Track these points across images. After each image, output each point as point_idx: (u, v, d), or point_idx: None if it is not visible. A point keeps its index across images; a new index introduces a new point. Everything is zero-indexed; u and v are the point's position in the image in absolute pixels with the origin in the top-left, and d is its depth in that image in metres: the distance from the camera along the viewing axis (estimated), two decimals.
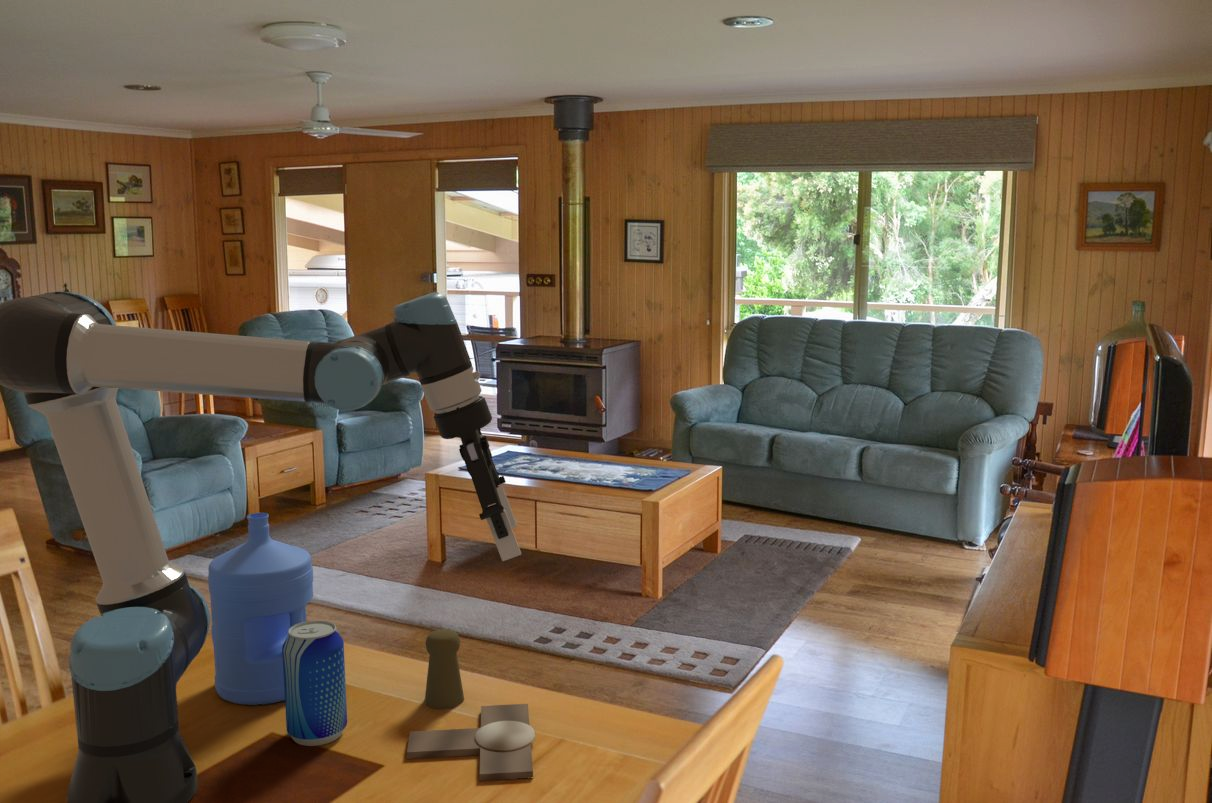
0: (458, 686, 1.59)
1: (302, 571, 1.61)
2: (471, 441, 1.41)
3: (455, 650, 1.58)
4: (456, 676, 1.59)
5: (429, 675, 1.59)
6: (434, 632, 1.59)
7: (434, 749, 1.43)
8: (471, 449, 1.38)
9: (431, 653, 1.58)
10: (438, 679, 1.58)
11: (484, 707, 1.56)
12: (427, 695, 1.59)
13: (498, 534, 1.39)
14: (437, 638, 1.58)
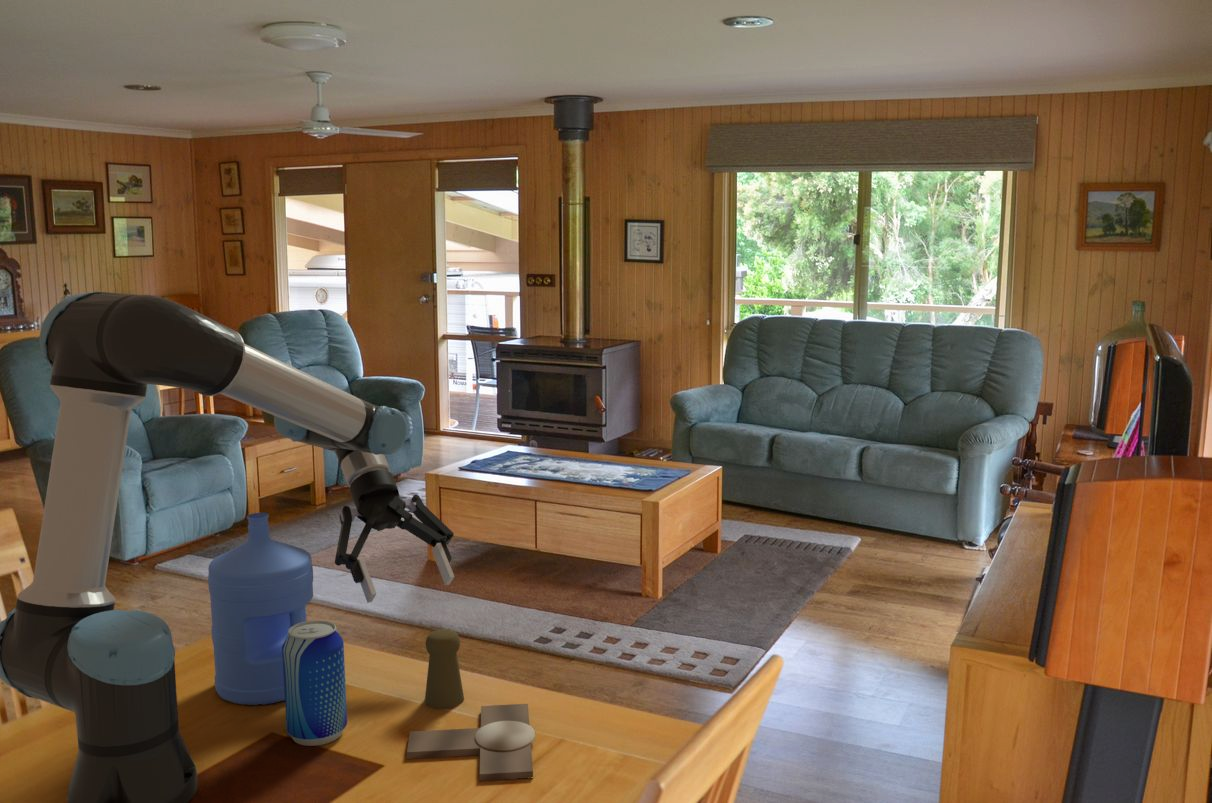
0: (458, 686, 1.59)
1: (302, 571, 1.61)
2: None
3: (455, 650, 1.58)
4: (456, 676, 1.59)
5: (429, 675, 1.59)
6: (434, 632, 1.59)
7: (434, 749, 1.43)
8: None
9: (431, 653, 1.58)
10: (438, 679, 1.58)
11: (484, 707, 1.56)
12: (427, 695, 1.59)
13: (450, 556, 1.73)
14: (437, 638, 1.58)
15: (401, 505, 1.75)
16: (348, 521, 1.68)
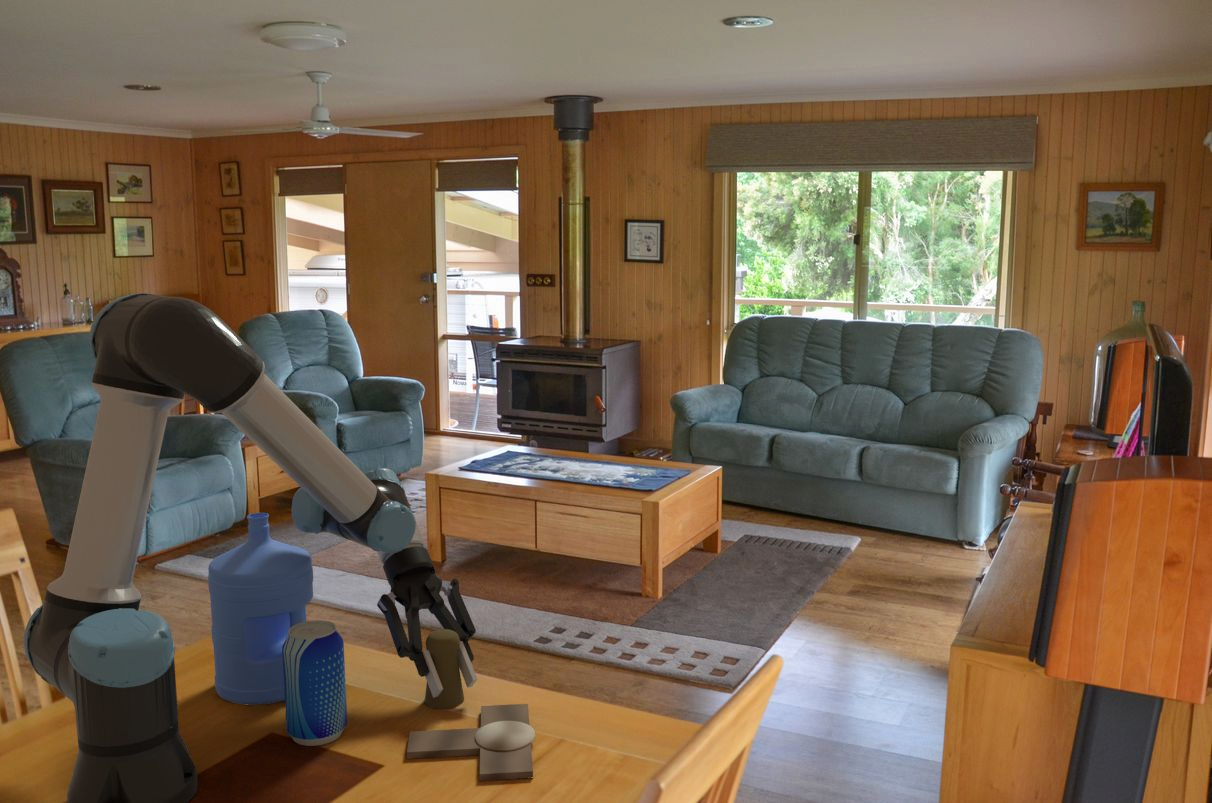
0: (458, 686, 1.59)
1: (303, 571, 1.61)
2: None
3: (455, 650, 1.58)
4: (457, 676, 1.59)
5: None
6: (434, 632, 1.59)
7: (434, 749, 1.43)
8: None
9: (431, 653, 1.58)
10: None
11: (484, 707, 1.56)
12: (427, 695, 1.59)
13: (472, 655, 1.62)
14: (437, 637, 1.58)
15: (436, 584, 1.66)
16: (393, 609, 1.60)
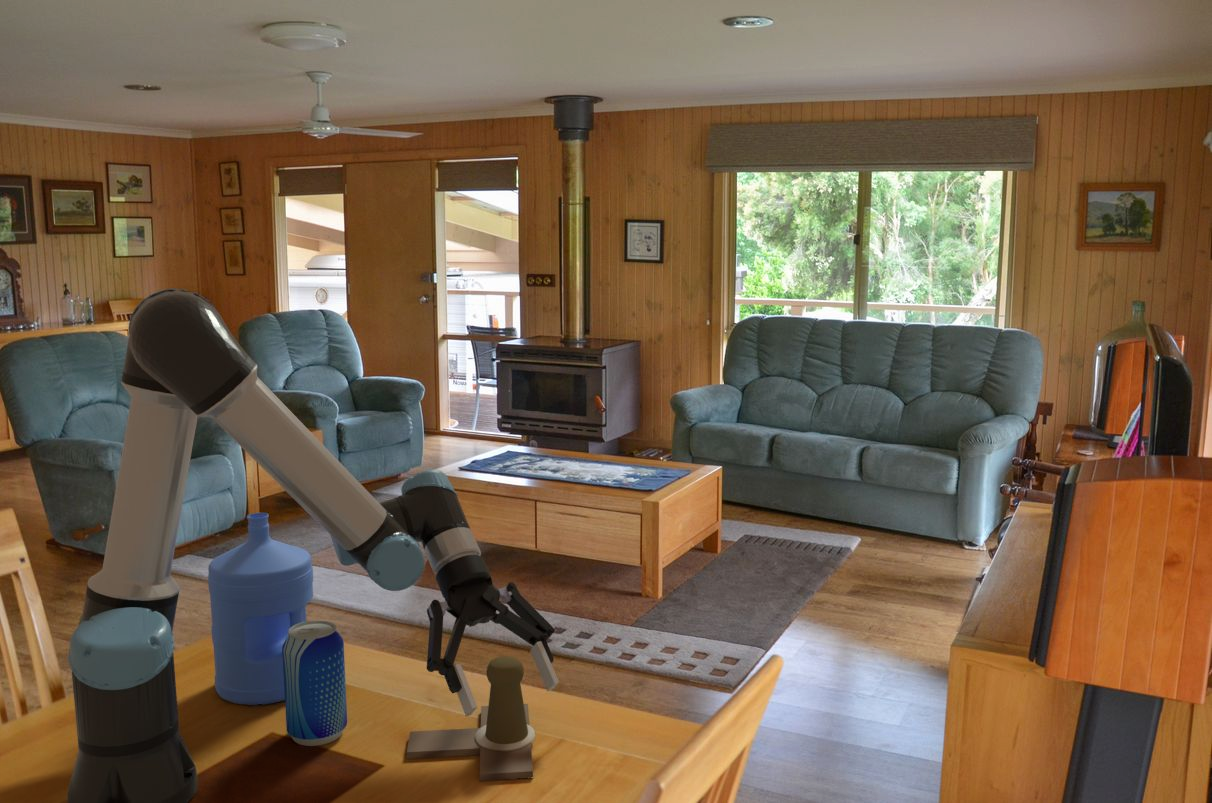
0: (522, 718, 1.46)
1: (302, 571, 1.61)
2: None
3: (519, 679, 1.45)
4: (521, 707, 1.46)
5: (491, 707, 1.45)
6: (495, 660, 1.46)
7: (434, 749, 1.43)
8: None
9: (493, 683, 1.44)
10: (501, 711, 1.44)
11: (484, 707, 1.56)
12: (489, 729, 1.46)
13: None
14: (500, 666, 1.44)
15: (495, 595, 1.52)
16: (439, 618, 1.46)
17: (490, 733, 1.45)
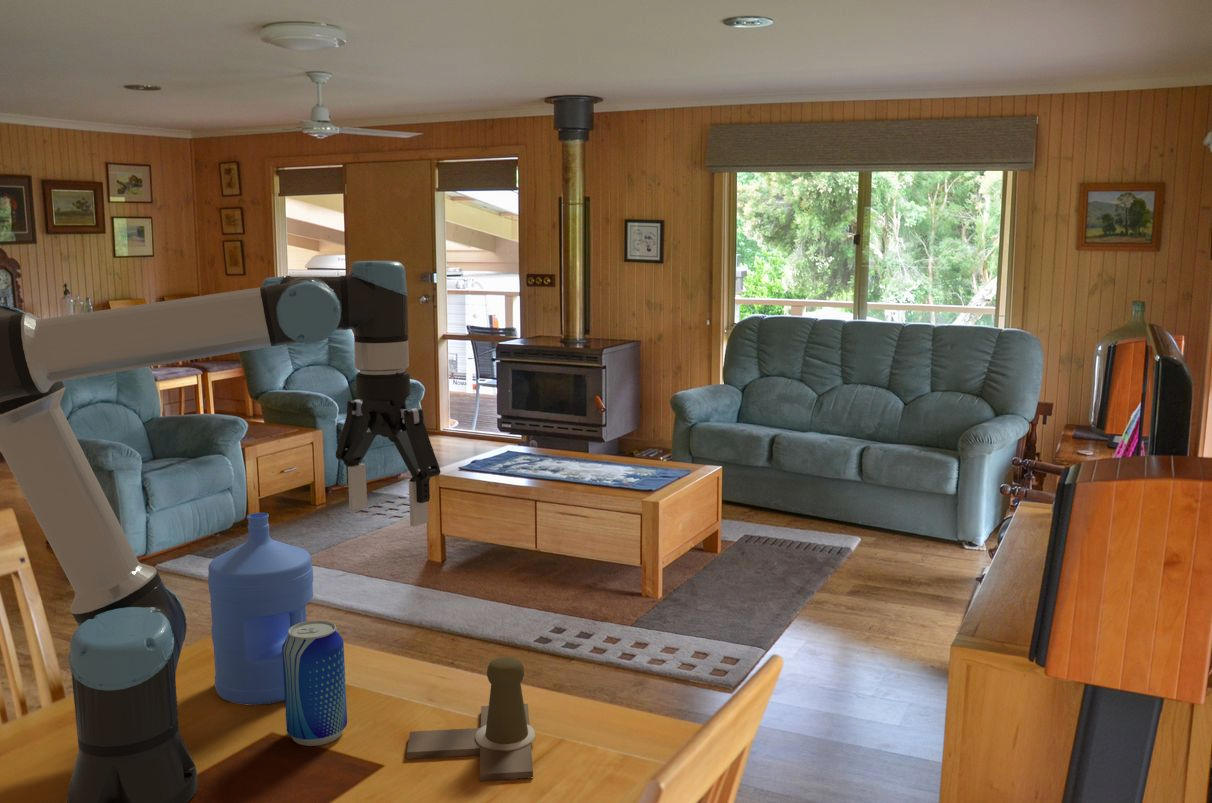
0: (522, 718, 1.46)
1: (302, 570, 1.61)
2: (401, 407, 1.46)
3: (520, 680, 1.45)
4: (521, 708, 1.46)
5: (491, 707, 1.45)
6: (496, 660, 1.46)
7: (434, 749, 1.43)
8: (416, 412, 1.44)
9: (494, 683, 1.44)
10: (501, 711, 1.44)
11: (484, 707, 1.56)
12: (489, 729, 1.45)
13: (423, 498, 1.45)
14: (501, 666, 1.44)
15: (392, 418, 1.46)
16: (348, 420, 1.52)
17: (490, 733, 1.45)
